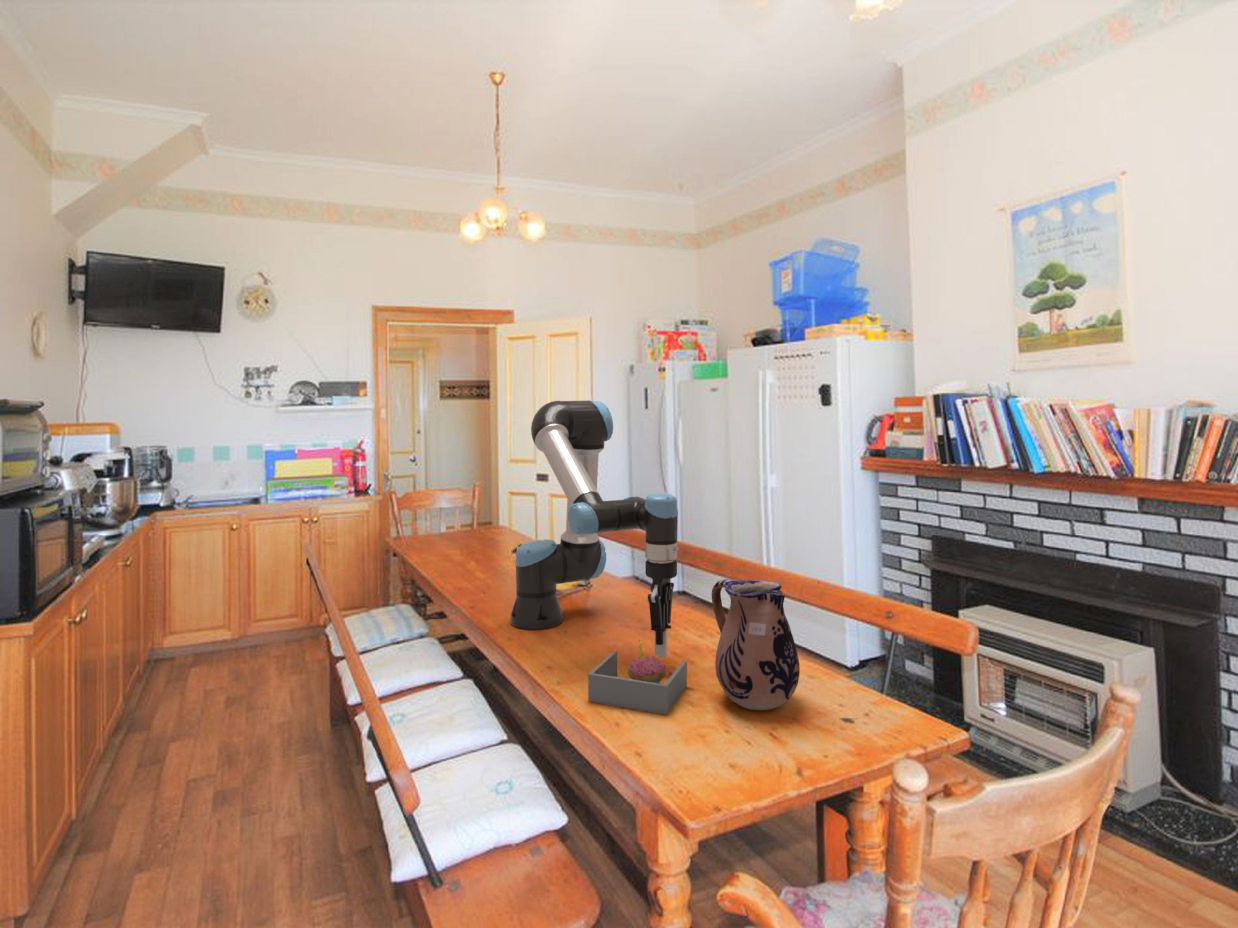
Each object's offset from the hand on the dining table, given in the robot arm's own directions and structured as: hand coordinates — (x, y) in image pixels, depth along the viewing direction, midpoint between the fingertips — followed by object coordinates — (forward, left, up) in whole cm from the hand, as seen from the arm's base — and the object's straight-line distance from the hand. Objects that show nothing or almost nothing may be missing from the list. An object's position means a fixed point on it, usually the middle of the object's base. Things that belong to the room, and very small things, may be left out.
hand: (661, 655), depth 162 cm
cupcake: (+1, -13, -3) cm, 14 cm away
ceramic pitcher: (+23, -10, -3) cm, 25 cm away
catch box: (0, -16, -3) cm, 16 cm away
